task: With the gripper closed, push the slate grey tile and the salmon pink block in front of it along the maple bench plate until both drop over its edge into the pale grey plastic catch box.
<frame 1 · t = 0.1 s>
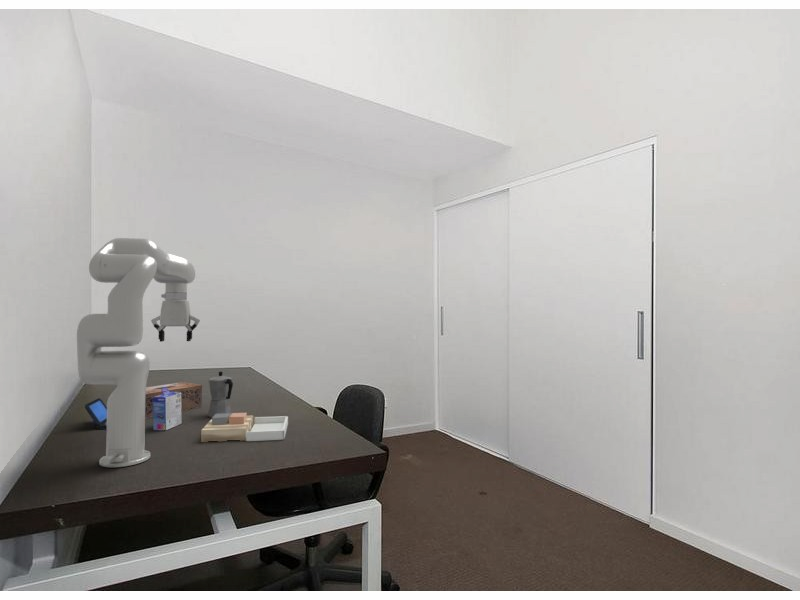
hand: (175, 341, 174), 31 cm above the table, tool pointing down, fingers open, 9 cm apart
coffeepot: (221, 416, 183), on the table
tissue box cover: (164, 411, 192), on the table
ink cartridge box: (167, 427, 166), on the table
salmon pink block: (237, 421, 158), point 4 cm above the table, touching bench plate
bench plate: (228, 433, 157), on the table
catch box: (267, 432, 160), on the table
handheld game console: (111, 425, 170), on the table
slate tile: (221, 422, 157), point 4 cm above the table, touching bench plate
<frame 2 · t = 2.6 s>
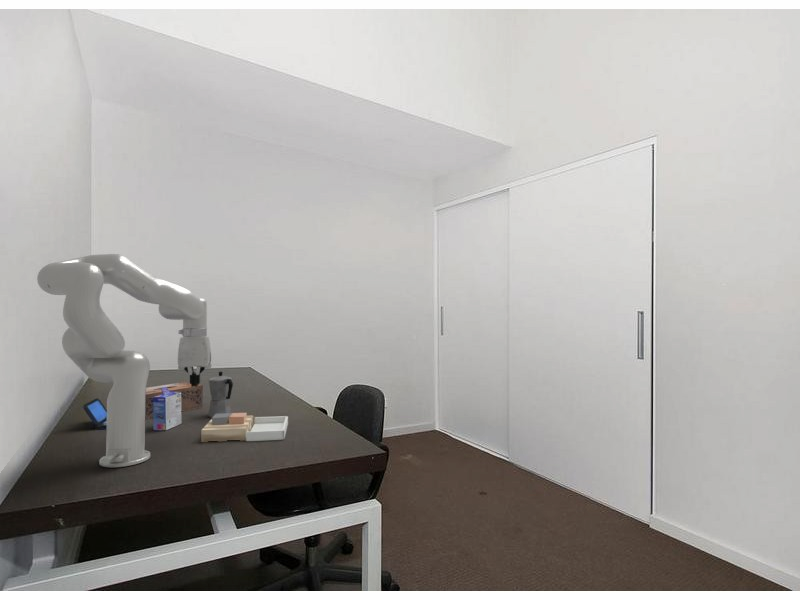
hand: (194, 385, 156), 17 cm above the table, tool pointing down, fingers closed
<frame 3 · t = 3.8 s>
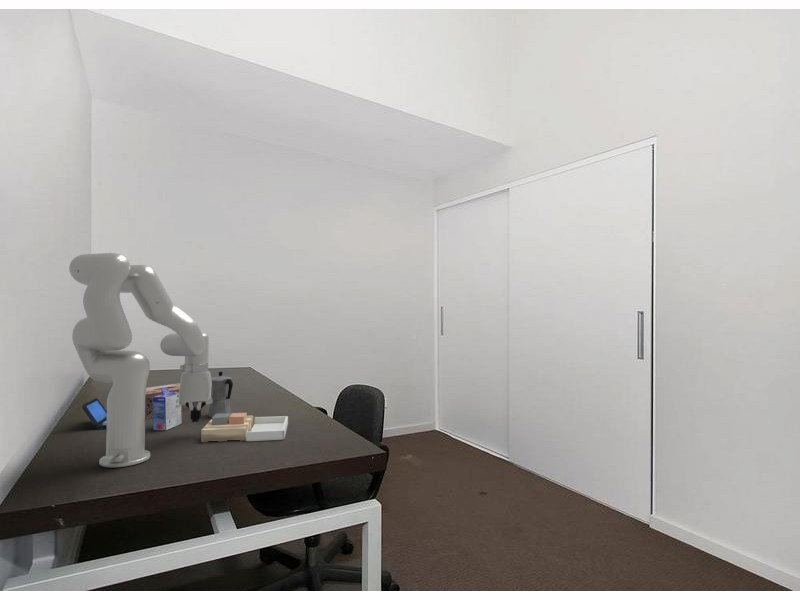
hand: (195, 421, 156), 5 cm above the table, tool pointing down, fingers closed
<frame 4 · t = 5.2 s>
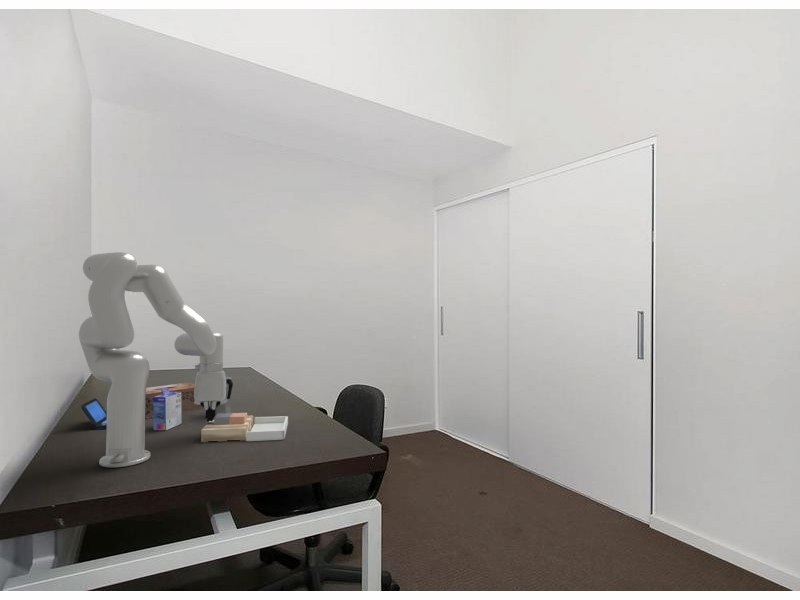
hand: (210, 420, 157), 5 cm above the table, tool pointing down, fingers closed
slate tile: (223, 422, 157), point 4 cm above the table, touching gripper
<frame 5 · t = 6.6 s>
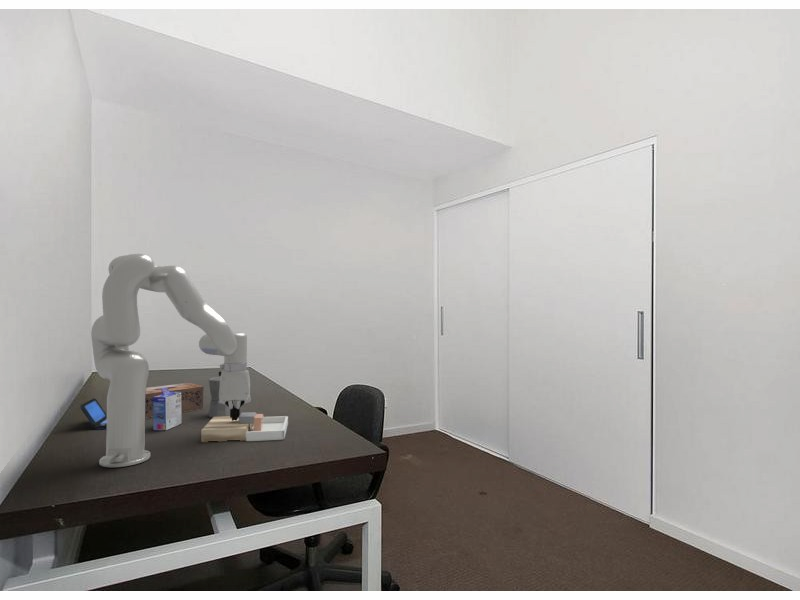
hand: (234, 419, 158), 5 cm above the table, tool pointing down, fingers closed
salmon pink block: (254, 423, 159), point 3 cm above the table, tilted 92°, touching catch box
slate tile: (247, 421, 159), point 4 cm above the table, touching gripper
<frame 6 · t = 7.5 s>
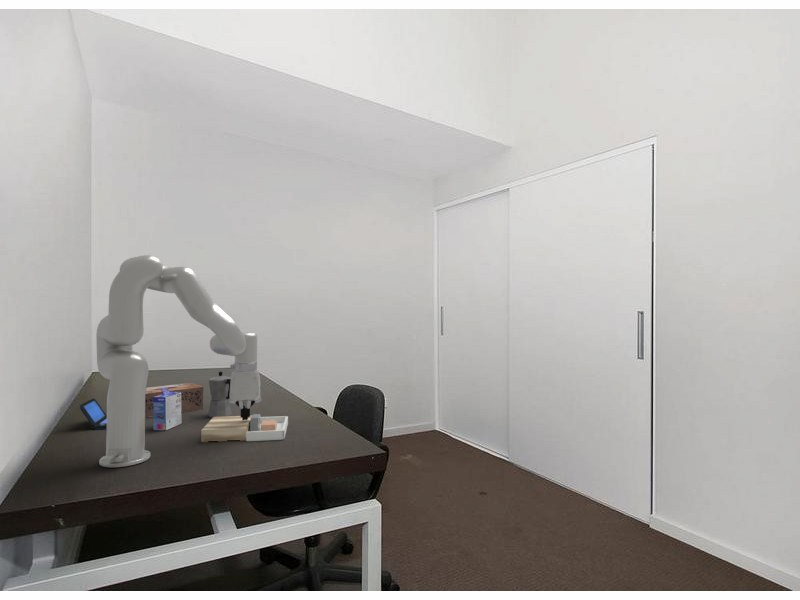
hand: (245, 419, 159), 5 cm above the table, tool pointing down, fingers closed
salmon pink block: (269, 422, 160), point 3 cm above the table, tilted 180°, touching catch box
slate tile: (251, 423, 159), point 3 cm above the table, tilted 90°, touching catch box
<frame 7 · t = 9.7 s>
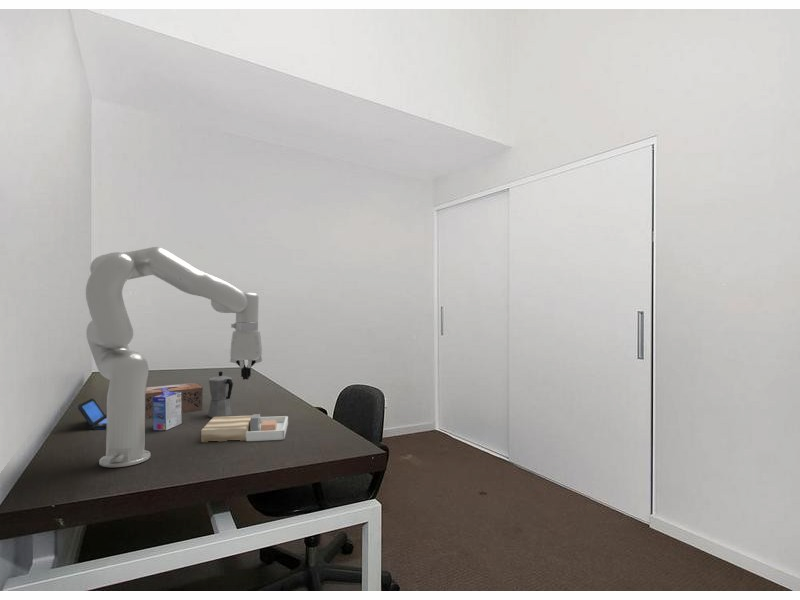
hand: (245, 378, 159), 19 cm above the table, tool pointing down, fingers closed
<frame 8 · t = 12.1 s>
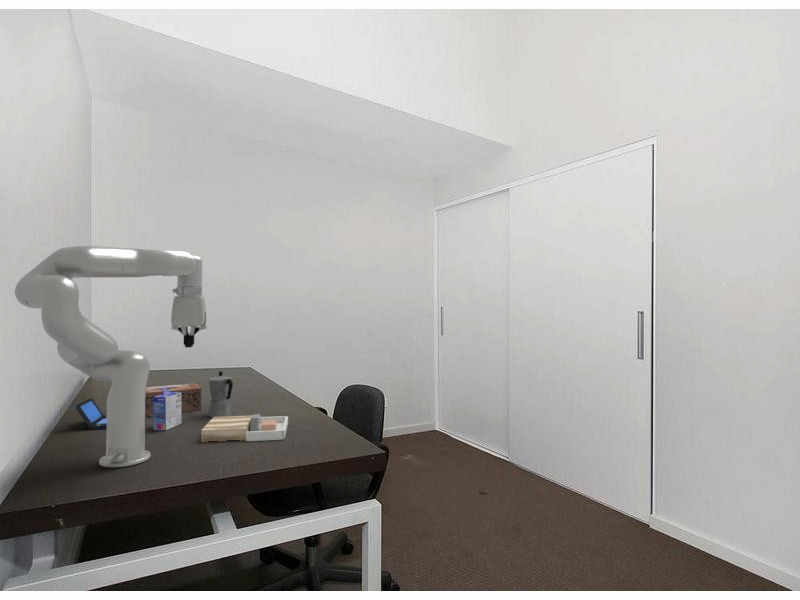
hand: (188, 347, 150), 31 cm above the table, tool pointing down, fingers closed
at the end: salmon pink block inside the target area on the catch box (0.5 cm from its centre), point 3.3 cm above the catch box's base; slate tile inside the target area on the catch box (5.4 cm from its centre), point 3.3 cm above the catch box's base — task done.
